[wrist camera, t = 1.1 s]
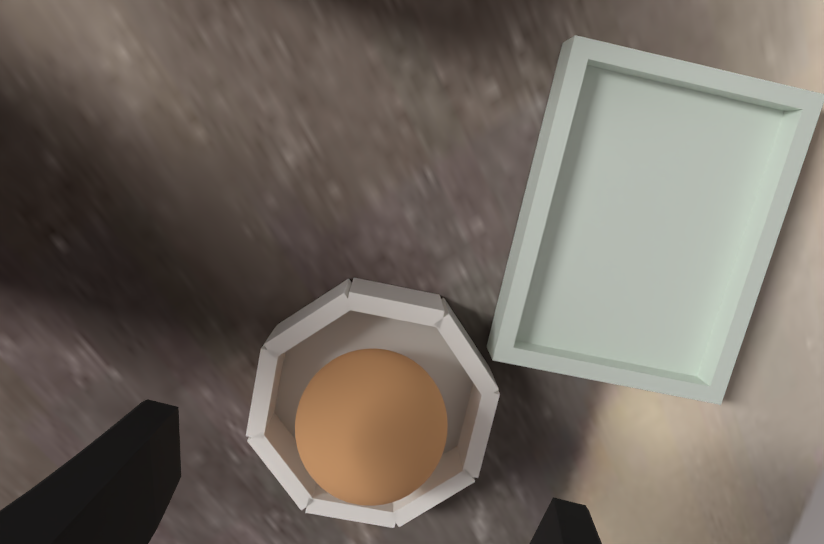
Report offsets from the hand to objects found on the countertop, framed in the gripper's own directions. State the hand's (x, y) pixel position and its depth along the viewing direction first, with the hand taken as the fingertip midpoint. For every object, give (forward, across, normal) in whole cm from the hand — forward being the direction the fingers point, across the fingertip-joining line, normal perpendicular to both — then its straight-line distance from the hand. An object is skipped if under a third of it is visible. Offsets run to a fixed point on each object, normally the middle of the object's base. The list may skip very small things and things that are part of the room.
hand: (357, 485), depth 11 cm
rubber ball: (+9, 0, +6) cm, 11 cm away
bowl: (+9, 0, +6) cm, 11 cm away
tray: (+13, -7, -1) cm, 15 cm away
